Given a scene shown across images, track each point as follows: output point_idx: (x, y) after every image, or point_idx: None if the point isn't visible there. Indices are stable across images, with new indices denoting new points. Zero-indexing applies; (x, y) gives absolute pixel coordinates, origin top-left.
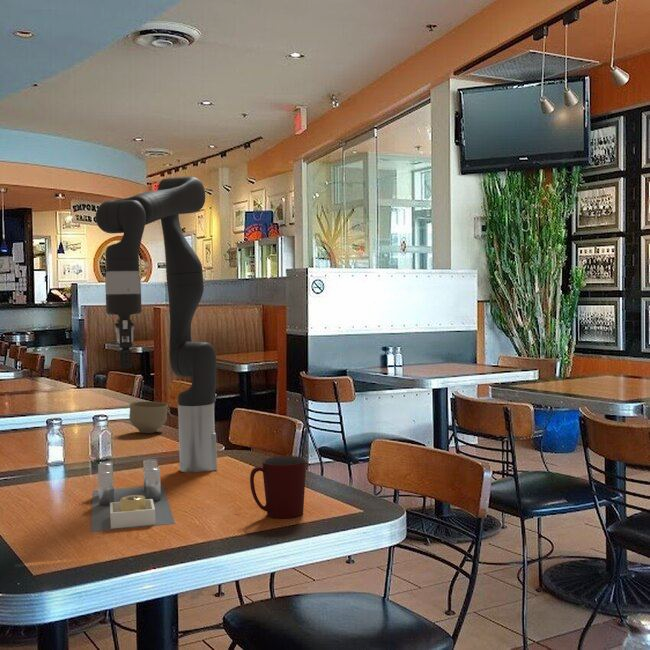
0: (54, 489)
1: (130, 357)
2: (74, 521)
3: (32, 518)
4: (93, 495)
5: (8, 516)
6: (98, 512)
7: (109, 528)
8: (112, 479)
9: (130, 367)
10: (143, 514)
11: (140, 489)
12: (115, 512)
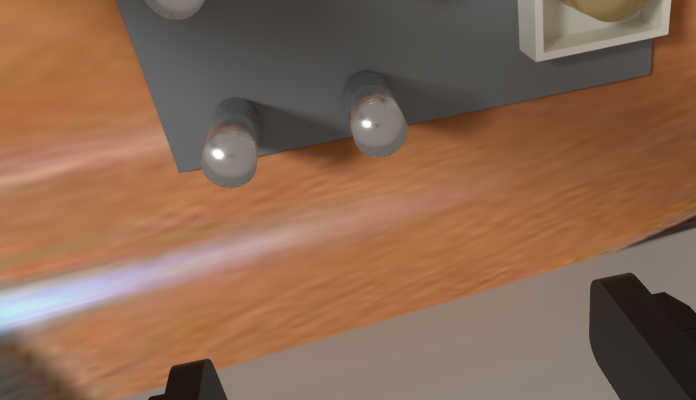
0: (133, 285)
1: (691, 347)
2: (504, 144)
3: (446, 251)
4: None
5: (413, 306)
6: (456, 96)
7: None
8: (386, 97)
9: (625, 274)
10: None
11: None
12: (664, 20)
